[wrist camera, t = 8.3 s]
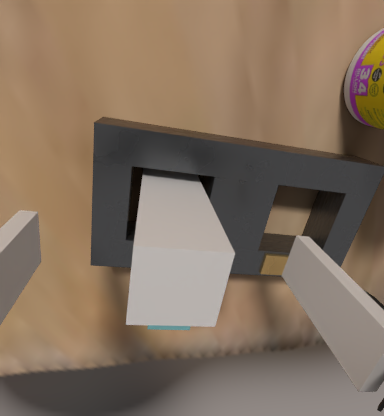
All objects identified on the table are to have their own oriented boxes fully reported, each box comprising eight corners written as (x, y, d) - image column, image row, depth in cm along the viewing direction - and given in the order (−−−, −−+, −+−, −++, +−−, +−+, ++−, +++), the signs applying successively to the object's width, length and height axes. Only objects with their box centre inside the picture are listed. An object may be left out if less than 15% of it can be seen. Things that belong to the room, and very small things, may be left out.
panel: (103, 116, 18) (93, 122, 15) (358, 157, 22) (389, 167, 19) (98, 243, 22) (90, 266, 19) (315, 259, 26) (336, 281, 23)
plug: (143, 165, 20) (133, 245, 10) (196, 172, 21) (234, 253, 11) (137, 223, 22) (124, 337, 12) (186, 227, 23) (211, 339, 13)
